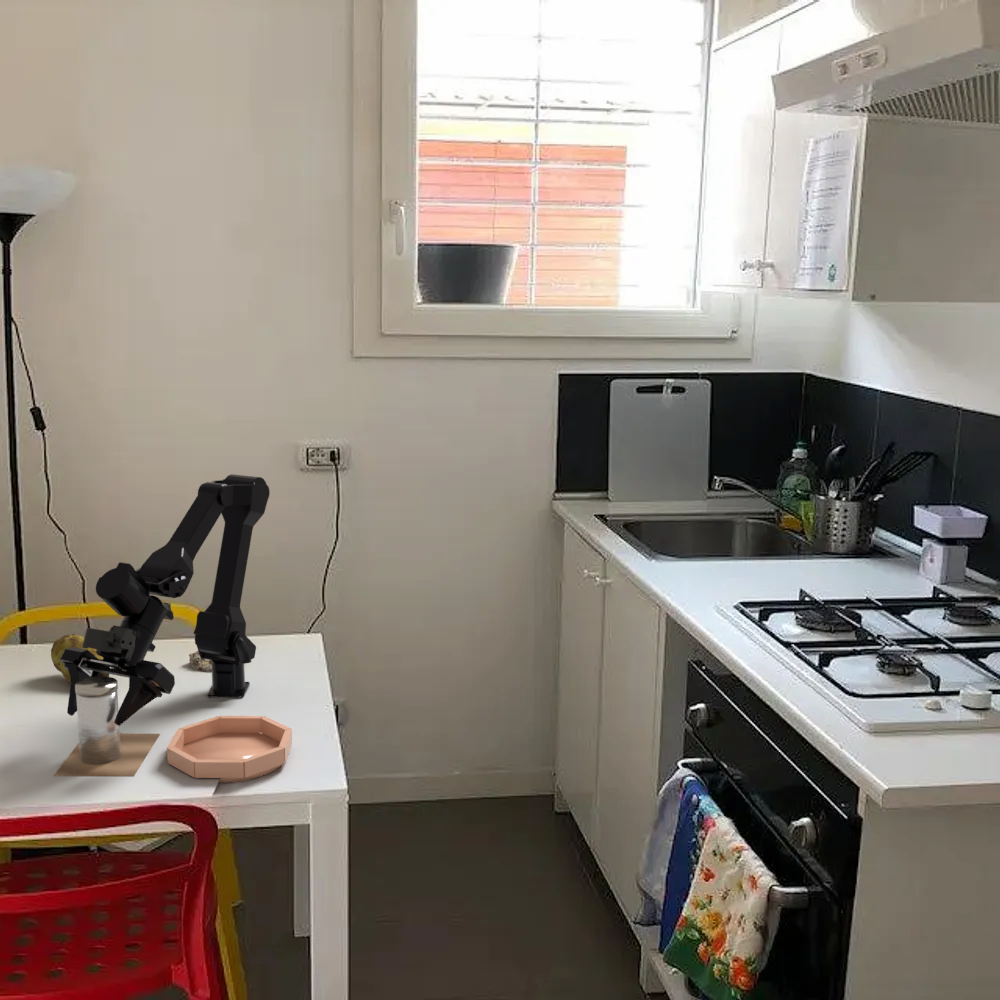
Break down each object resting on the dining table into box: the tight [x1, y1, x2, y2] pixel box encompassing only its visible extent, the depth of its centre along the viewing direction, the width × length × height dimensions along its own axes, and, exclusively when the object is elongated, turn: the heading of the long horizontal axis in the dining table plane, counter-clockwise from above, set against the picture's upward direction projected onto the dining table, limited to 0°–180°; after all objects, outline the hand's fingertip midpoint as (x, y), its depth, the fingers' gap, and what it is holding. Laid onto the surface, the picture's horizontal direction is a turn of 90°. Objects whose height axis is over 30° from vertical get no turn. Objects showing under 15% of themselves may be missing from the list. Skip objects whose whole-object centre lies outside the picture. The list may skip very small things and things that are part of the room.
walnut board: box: [53, 733, 161, 777], centre depth 191 cm, size 16×12×1 cm
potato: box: [50, 633, 110, 683], centre depth 223 cm, size 8×13×8 cm, turn 35°
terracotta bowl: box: [166, 715, 293, 784], centre depth 191 cm, size 18×18×4 cm
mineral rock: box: [188, 650, 212, 673], centre depth 233 cm, size 11×4×8 cm
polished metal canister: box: [75, 676, 121, 765], centre depth 189 cm, size 6×6×12 cm
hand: (92, 719), depth 187 cm, fingers open, 9 cm apart
